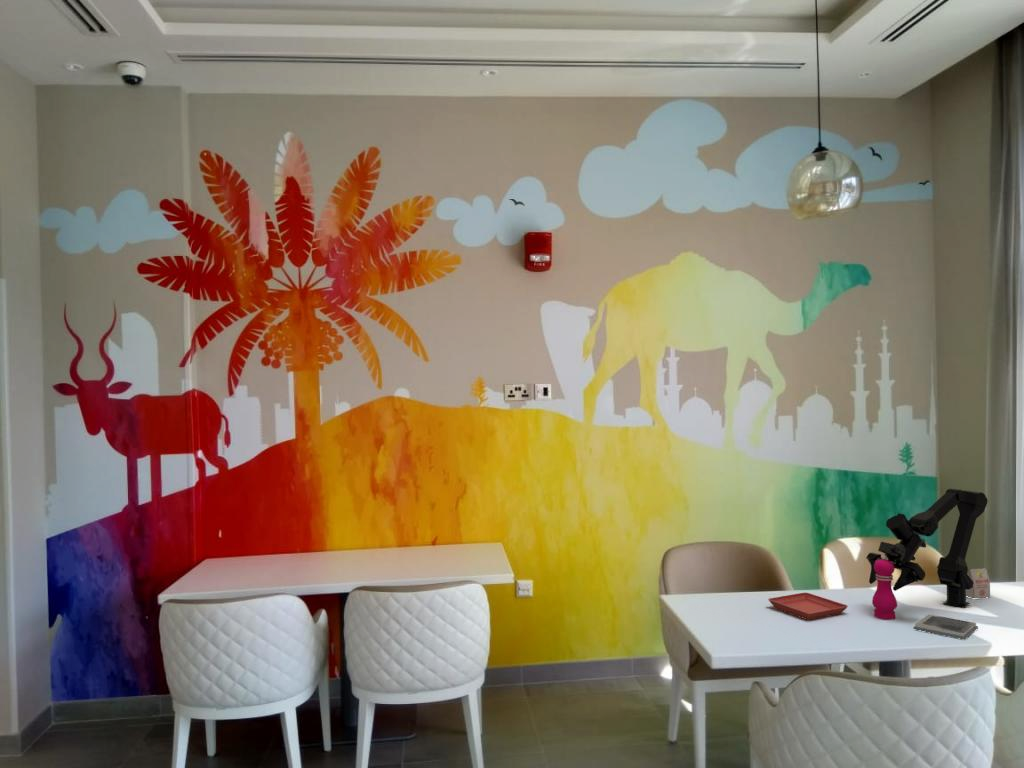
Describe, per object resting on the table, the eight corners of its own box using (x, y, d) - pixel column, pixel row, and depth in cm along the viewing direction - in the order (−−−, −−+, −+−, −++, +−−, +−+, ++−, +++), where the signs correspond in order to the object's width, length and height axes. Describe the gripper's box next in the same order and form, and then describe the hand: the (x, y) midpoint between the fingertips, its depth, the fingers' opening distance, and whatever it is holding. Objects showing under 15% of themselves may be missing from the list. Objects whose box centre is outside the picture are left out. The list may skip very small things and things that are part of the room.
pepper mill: (900, 620, 245) (899, 557, 245) (875, 619, 247) (874, 556, 247) (893, 613, 252) (892, 552, 252) (869, 612, 254) (869, 551, 254)
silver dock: (927, 619, 246) (927, 613, 246) (977, 628, 237) (977, 622, 237) (913, 629, 236) (913, 623, 236) (965, 640, 226) (965, 633, 226)
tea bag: (965, 596, 271) (964, 568, 271) (981, 595, 272) (981, 567, 272) (973, 599, 268) (972, 570, 268) (990, 598, 269) (989, 569, 269)
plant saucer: (849, 615, 253) (849, 605, 253) (809, 623, 245) (808, 612, 245) (805, 601, 269) (805, 591, 269) (766, 608, 261) (766, 598, 261)
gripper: (870, 528, 260) (845, 564, 256) (918, 538, 243) (893, 577, 238) (887, 549, 263) (863, 585, 259) (936, 560, 246) (911, 599, 241)
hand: (881, 586), depth 249 cm, fingers open, 9 cm apart
